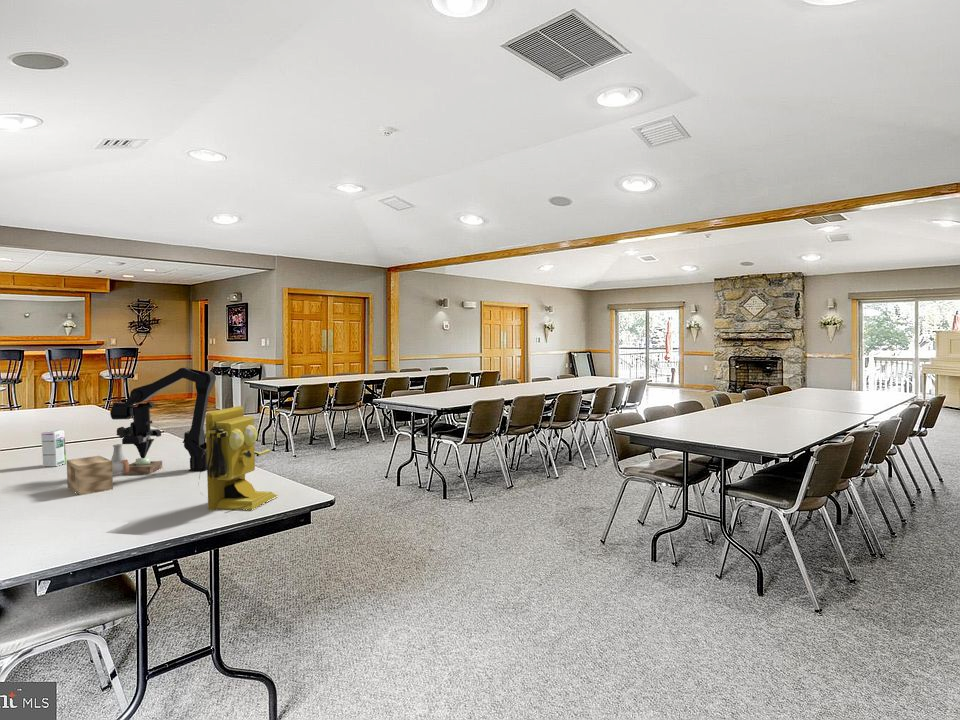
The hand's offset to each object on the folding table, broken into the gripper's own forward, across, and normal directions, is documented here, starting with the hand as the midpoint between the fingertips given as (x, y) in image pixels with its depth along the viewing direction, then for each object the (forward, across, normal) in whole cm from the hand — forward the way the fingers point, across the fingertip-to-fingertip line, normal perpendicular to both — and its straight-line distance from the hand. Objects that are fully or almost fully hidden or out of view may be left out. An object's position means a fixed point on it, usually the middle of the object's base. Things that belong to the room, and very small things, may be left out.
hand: (143, 458), depth 229 cm
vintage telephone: (+6, +49, +55) cm, 74 cm away
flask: (+6, -5, -12) cm, 14 cm away
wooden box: (+5, +26, -5) cm, 27 cm away
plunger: (+2, +20, 0) cm, 20 cm away
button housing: (+5, 0, 0) cm, 5 cm away
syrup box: (+6, -15, -43) cm, 46 cm away
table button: (+3, 0, 0) cm, 3 cm away
